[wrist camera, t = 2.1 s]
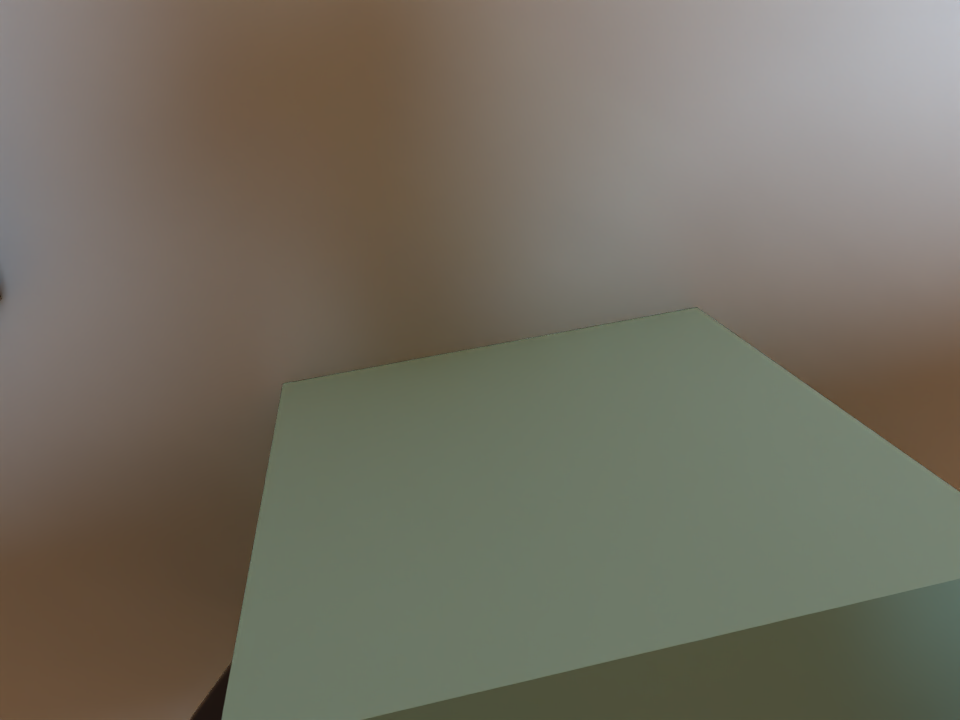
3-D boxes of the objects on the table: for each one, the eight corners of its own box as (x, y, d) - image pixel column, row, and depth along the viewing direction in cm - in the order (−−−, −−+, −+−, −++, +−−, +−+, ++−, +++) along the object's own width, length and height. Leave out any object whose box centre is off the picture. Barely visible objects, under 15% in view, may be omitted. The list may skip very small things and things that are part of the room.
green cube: (698, 619, 11) (949, 1016, 6) (365, 697, 10) (382, 1189, 6) (693, 305, 9) (1051, 557, 4) (282, 380, 8) (215, 753, 4)
